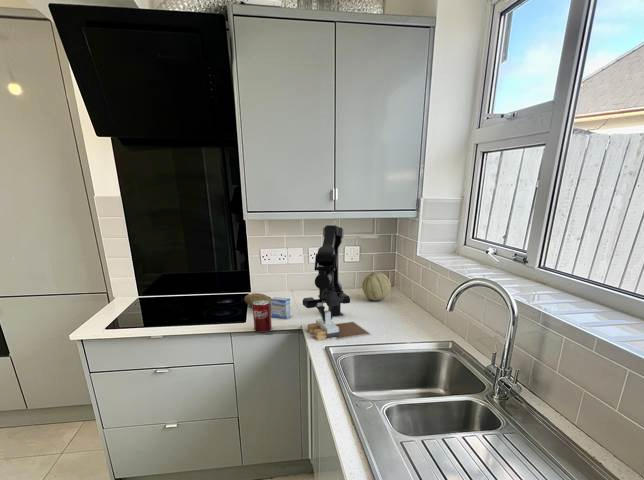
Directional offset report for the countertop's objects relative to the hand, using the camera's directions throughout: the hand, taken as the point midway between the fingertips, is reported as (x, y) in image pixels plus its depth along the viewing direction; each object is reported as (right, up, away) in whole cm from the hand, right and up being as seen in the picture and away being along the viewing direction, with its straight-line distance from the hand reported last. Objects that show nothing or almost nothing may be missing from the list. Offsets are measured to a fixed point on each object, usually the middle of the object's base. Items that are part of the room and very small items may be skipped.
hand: (326, 320), depth 166 cm
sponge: (-34, +9, +36) cm, 51 cm away
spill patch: (+8, -4, +5) cm, 10 cm away
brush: (0, -4, +2) cm, 4 cm away
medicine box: (-22, +4, +23) cm, 32 cm away
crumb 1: (-6, -4, +4) cm, 8 cm away
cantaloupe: (+25, +15, +49) cm, 57 cm away
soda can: (-27, -4, +6) cm, 28 cm away
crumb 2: (-3, -7, -3) cm, 8 cm away
